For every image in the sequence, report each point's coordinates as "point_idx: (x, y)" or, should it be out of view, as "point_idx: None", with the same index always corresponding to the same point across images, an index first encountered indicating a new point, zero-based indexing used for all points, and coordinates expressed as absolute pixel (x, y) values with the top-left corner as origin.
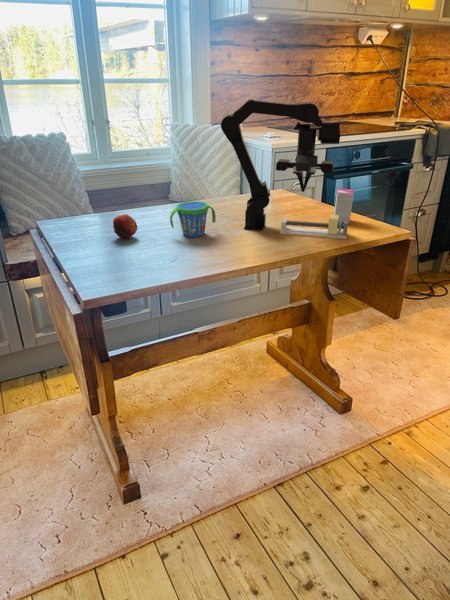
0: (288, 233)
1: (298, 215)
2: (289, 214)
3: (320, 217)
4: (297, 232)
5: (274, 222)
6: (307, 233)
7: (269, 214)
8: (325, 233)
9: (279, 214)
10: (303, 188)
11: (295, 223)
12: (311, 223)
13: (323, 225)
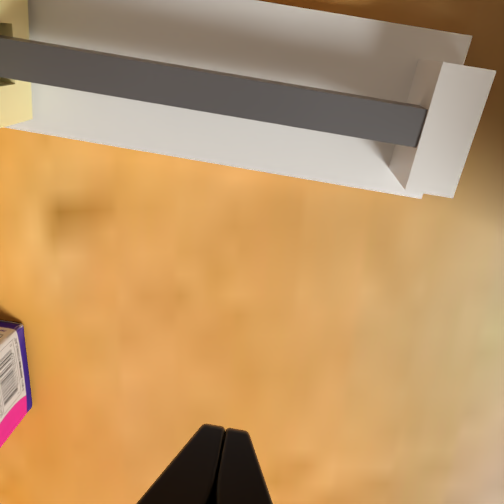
0: (391, 24)
1: (262, 467)
2: (322, 485)
3: (118, 432)
4: (306, 26)
5: (459, 335)
6: (213, 4)
7: (463, 487)
8: (51, 20)
9: (391, 486)
10: (209, 470)
11: (329, 93)
12: (161, 64)
13: (42, 43)
